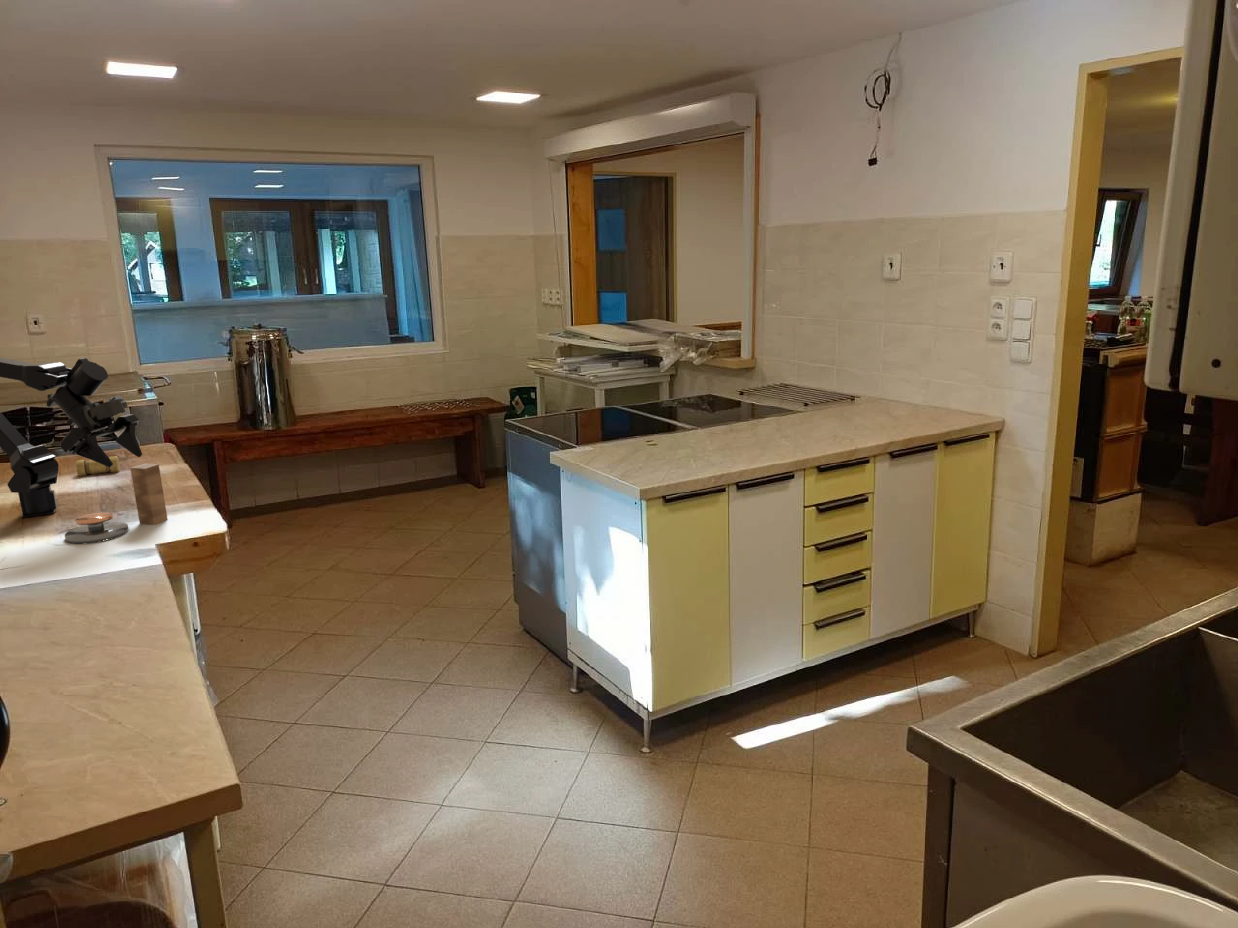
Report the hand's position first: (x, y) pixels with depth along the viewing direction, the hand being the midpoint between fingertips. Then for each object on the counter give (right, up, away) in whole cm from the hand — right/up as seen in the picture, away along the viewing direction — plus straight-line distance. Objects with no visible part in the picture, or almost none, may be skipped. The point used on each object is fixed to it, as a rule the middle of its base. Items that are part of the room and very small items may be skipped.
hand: (126, 460), depth 202 cm
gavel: (-36, -2, +53) cm, 64 cm away
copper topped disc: (-1, -16, -9) cm, 18 cm away
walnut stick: (+6, -14, -1) cm, 15 cm away
